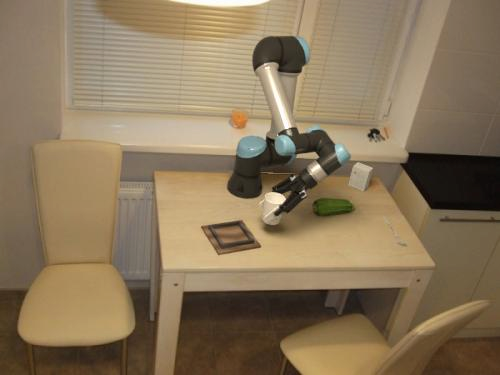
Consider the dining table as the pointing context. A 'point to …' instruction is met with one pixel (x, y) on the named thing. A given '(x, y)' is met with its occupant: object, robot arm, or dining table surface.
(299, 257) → the dining table surface
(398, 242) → the fork
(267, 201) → the white cup
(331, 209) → the vegetable
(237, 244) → the dock board
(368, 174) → the small box
